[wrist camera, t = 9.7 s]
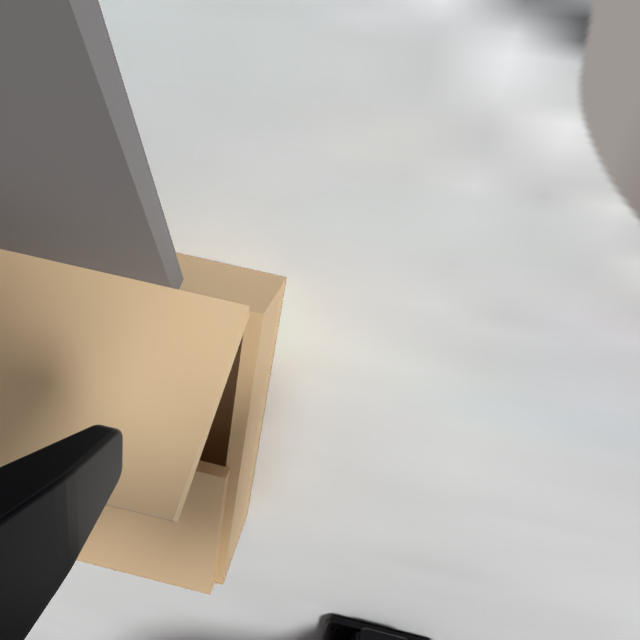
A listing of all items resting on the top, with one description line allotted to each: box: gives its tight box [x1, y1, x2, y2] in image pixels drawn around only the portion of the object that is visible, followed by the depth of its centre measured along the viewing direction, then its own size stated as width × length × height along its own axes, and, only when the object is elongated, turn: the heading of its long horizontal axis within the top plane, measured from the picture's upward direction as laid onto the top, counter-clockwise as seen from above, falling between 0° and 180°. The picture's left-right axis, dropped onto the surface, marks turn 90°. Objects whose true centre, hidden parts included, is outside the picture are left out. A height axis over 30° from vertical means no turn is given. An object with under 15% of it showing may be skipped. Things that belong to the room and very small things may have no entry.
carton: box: [76, 253, 287, 594], centre depth 21 cm, size 14×18×5 cm
